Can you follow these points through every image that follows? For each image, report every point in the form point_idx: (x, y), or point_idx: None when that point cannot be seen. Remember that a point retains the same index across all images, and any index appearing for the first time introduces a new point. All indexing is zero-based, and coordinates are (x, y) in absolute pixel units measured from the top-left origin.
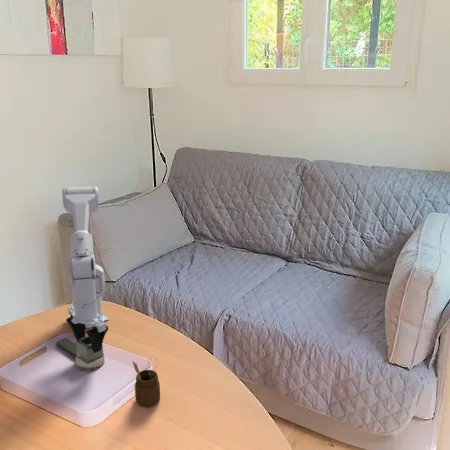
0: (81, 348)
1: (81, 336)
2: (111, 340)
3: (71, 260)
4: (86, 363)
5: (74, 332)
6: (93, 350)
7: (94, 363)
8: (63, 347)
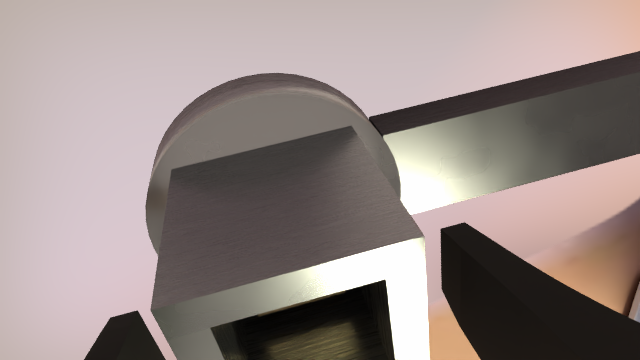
0: (272, 232)
1: (470, 305)
2: (431, 344)
3: None
4: (189, 164)
5: (547, 309)
6: (101, 340)
7: (149, 221)
8: (592, 78)
